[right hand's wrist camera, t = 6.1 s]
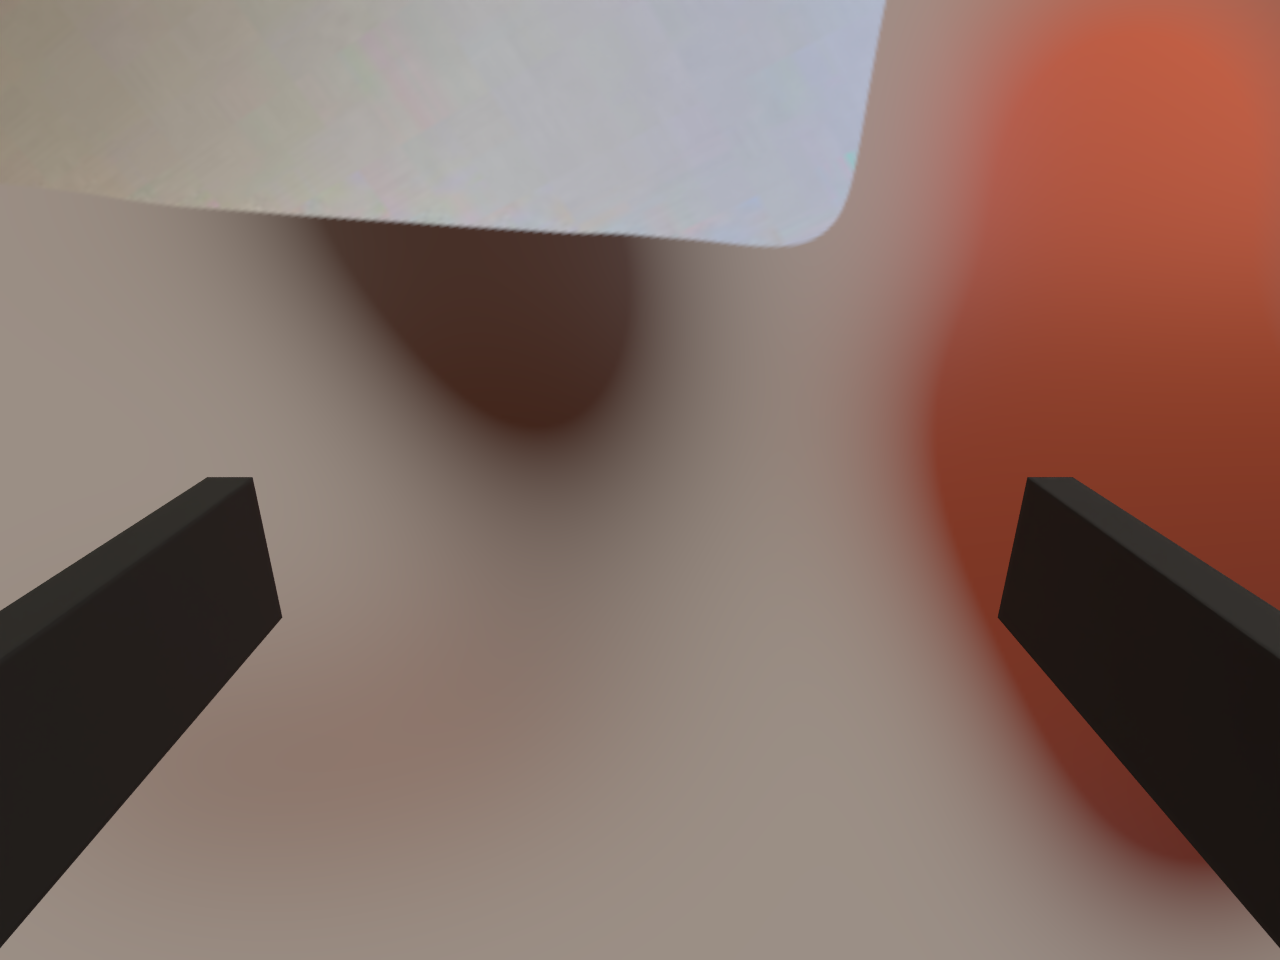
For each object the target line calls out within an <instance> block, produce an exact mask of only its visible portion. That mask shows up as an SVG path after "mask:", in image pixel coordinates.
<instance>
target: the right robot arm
mask: <svg viewBox="0 0 1280 960" xmlns="http://www.w3.org/2000/svg"><path fill="white" fill-rule="evenodd" d="M281 618H282V614H281V609H280V605H279V600H278V595H277V591H276V586H275V581H274V577H273V572H272V567H271V562H270V558H269V553H268V548H267V543H266V539H265V534H264V529H263V524H262V520H261V515H260V510H259V506H258V501H257V496H256V491H255V487H254V482H253V478H252V477H207V478H205V479H204V480H202V481H201V482H199V483H198V484H196V485H195V486H193V487H192V488H190V489H188V490H187V491H185V492H184V493H182V494H181V495H179V496H178V497H176V498H174V499H173V500H171V501H170V502H168V503H167V504H165V505H164V506H162V507H161V508H159V509H157V510H156V511H154V512H153V513H151V514H150V515H148V516H147V517H145V518H143V519H142V520H140V521H139V522H137V523H136V524H134V525H133V526H131V527H130V528H128V529H126V530H125V531H123V532H122V533H120V534H119V535H117V536H116V537H114V538H113V539H111V540H109V541H108V542H106V543H105V544H103V545H102V546H100V547H99V548H97V549H95V550H94V551H92V552H91V553H89V554H88V555H86V556H85V557H83V558H82V559H80V560H78V561H77V562H75V563H74V564H72V565H71V566H69V567H68V568H66V569H64V570H63V571H61V572H60V573H58V574H57V575H55V576H54V577H52V578H50V579H49V580H47V581H46V582H44V583H43V584H41V585H40V586H38V587H37V588H35V589H34V590H32V591H30V592H29V593H27V594H26V595H24V596H23V597H21V598H20V599H18V600H16V601H15V602H13V603H12V604H10V605H9V606H7V607H6V608H4V609H3V610H1V611H0V948H1V946H2V945H3V944H4V943H5V942H6V941H7V939H8V938H9V937H10V936H11V935H12V934H13V932H14V931H15V930H16V929H17V928H18V926H19V925H20V924H21V923H22V922H23V921H24V919H25V918H26V917H27V916H28V915H29V914H30V912H31V911H32V910H33V909H34V908H35V907H36V905H37V904H38V903H39V902H40V901H41V899H42V898H43V897H44V896H45V895H46V894H47V893H48V891H49V890H50V889H51V888H52V887H53V885H54V884H55V883H56V882H57V881H58V880H59V878H60V877H61V876H62V875H63V874H64V873H65V871H66V870H67V869H68V868H69V867H70V865H71V864H72V863H73V862H74V861H75V860H76V859H77V857H78V856H79V855H80V854H81V853H82V851H83V850H84V849H85V848H86V847H87V846H88V844H89V843H90V842H91V841H92V840H93V839H94V837H95V836H96V835H97V834H98V833H99V832H100V830H101V829H102V828H103V827H104V826H105V825H106V823H107V822H108V821H109V820H110V819H111V818H112V816H113V815H114V814H115V813H116V812H117V810H118V809H119V808H120V807H121V806H122V805H123V803H124V802H125V801H126V800H127V799H128V798H129V796H130V795H131V794H132V793H133V792H134V791H135V789H136V788H137V787H138V786H139V785H140V784H141V782H142V781H143V780H144V779H145V778H146V776H147V775H148V774H149V773H150V772H151V771H152V769H153V768H154V767H155V766H156V765H157V763H158V762H159V761H160V760H161V759H162V758H163V757H164V755H165V754H166V753H167V752H168V751H169V750H170V748H171V747H172V746H173V745H174V744H175V742H176V741H177V740H178V739H179V738H180V737H181V735H182V734H183V733H184V732H185V731H186V730H187V728H188V727H189V726H190V725H191V724H192V723H193V721H194V720H195V719H196V718H197V717H198V716H199V714H200V713H201V712H202V711H203V710H204V709H205V707H206V706H207V705H208V704H209V703H210V701H211V700H212V699H213V698H214V697H215V696H216V694H217V693H218V692H219V691H220V690H221V689H222V687H223V686H224V685H225V684H226V683H227V682H228V680H229V679H230V678H231V677H232V676H233V675H234V673H235V672H236V671H237V670H238V669H239V667H240V666H241V665H242V664H243V663H244V662H245V660H246V659H247V658H248V657H249V656H250V655H251V653H252V652H253V651H254V650H255V649H256V648H257V646H258V645H259V644H260V643H261V642H262V640H263V639H264V638H265V637H266V636H267V635H268V634H269V632H270V631H271V630H272V629H273V628H274V626H275V625H276V624H277V623H278V622H279V621H280V619H281ZM998 618H999V619H1000V621H1001V622H1002V623H1003V624H1004V625H1005V626H1006V628H1007V629H1008V630H1009V631H1010V632H1011V633H1012V635H1013V636H1014V637H1015V638H1016V639H1017V641H1018V642H1019V643H1020V644H1021V645H1022V646H1023V648H1024V649H1025V650H1026V651H1027V652H1028V653H1029V655H1030V656H1031V657H1032V658H1033V659H1034V660H1035V662H1036V663H1037V664H1038V665H1039V666H1040V667H1041V669H1042V670H1043V671H1044V672H1045V673H1046V674H1047V676H1048V677H1049V678H1050V679H1051V680H1052V681H1053V683H1054V684H1055V685H1056V686H1057V687H1058V689H1059V690H1060V691H1061V692H1062V693H1063V694H1064V696H1065V697H1066V698H1067V699H1068V700H1069V701H1070V703H1071V704H1072V705H1073V706H1074V707H1075V708H1076V710H1077V711H1078V712H1079V713H1080V714H1081V716H1082V717H1083V718H1084V719H1085V720H1086V721H1087V723H1088V724H1089V725H1090V726H1091V727H1092V728H1093V730H1094V731H1095V732H1096V733H1097V734H1098V735H1099V737H1100V738H1101V739H1102V740H1103V741H1104V742H1105V744H1106V745H1107V746H1108V747H1109V748H1110V750H1111V751H1112V752H1113V753H1114V754H1115V755H1116V757H1117V758H1118V759H1119V760H1120V761H1121V762H1122V764H1123V765H1124V766H1125V767H1126V768H1127V769H1128V771H1129V772H1130V773H1131V774H1132V775H1133V776H1134V778H1135V779H1136V780H1137V781H1138V782H1139V783H1140V785H1141V786H1142V787H1143V788H1144V789H1145V791H1146V792H1147V793H1148V794H1149V795H1150V796H1151V798H1152V799H1153V800H1154V801H1155V802H1156V803H1157V805H1158V806H1159V807H1160V808H1161V809H1162V810H1163V812H1164V813H1165V814H1166V815H1167V816H1168V818H1169V819H1170V820H1171V821H1172V822H1173V823H1174V825H1175V826H1176V827H1177V828H1178V829H1179V830H1180V832H1181V833H1182V834H1183V835H1184V836H1185V837H1186V839H1187V840H1188V841H1189V842H1190V843H1191V844H1192V846H1193V847H1194V848H1195V849H1196V850H1197V851H1198V853H1199V854H1200V855H1201V856H1202V857H1203V859H1204V860H1205V861H1206V862H1207V863H1208V864H1209V866H1210V867H1211V868H1212V869H1213V870H1214V871H1215V873H1216V874H1217V875H1218V876H1219V877H1220V878H1221V880H1222V881H1223V882H1224V883H1225V884H1226V885H1227V887H1228V888H1229V889H1230V890H1231V891H1232V893H1233V894H1234V895H1235V896H1236V897H1237V898H1238V899H1239V901H1240V902H1241V903H1242V904H1243V905H1244V907H1245V908H1246V909H1247V910H1248V911H1249V912H1250V914H1251V915H1252V916H1253V917H1254V918H1255V919H1256V921H1257V922H1258V923H1259V924H1260V925H1261V926H1262V928H1263V929H1264V930H1265V931H1266V932H1267V933H1268V935H1269V936H1270V937H1271V938H1272V939H1273V941H1274V942H1275V943H1276V944H1277V945H1278V946H1279V948H1280V611H1279V610H1277V609H1276V608H1274V607H1273V606H1271V605H1270V604H1268V603H1267V602H1265V601H1264V600H1262V599H1260V598H1259V597H1257V596H1256V595H1254V594H1253V593H1251V592H1250V591H1248V590H1246V589H1245V588H1243V587H1242V586H1240V585H1239V584H1237V583H1236V582H1234V581H1233V580H1231V579H1230V578H1228V577H1226V576H1225V575H1223V574H1222V573H1220V572H1219V571H1217V570H1215V569H1214V568H1212V567H1211V566H1209V565H1208V564H1206V563H1205V562H1203V561H1202V560H1200V559H1198V558H1197V557H1195V556H1194V555H1192V554H1191V553H1189V552H1188V551H1186V550H1185V549H1183V548H1181V547H1180V546H1178V545H1177V544H1175V543H1174V542H1172V541H1171V540H1169V539H1168V538H1166V537H1164V536H1163V535H1161V534H1160V533H1158V532H1157V531H1155V530H1153V529H1152V528H1150V527H1149V526H1147V525H1146V524H1144V523H1143V522H1141V521H1140V520H1138V519H1137V518H1135V517H1133V516H1132V515H1130V514H1129V513H1127V512H1126V511H1124V510H1123V509H1121V508H1119V507H1118V506H1116V505H1115V504H1113V503H1112V502H1110V501H1109V500H1107V499H1105V498H1104V497H1102V496H1101V495H1099V494H1098V493H1096V492H1095V491H1093V490H1092V489H1090V488H1088V487H1087V486H1085V485H1084V484H1082V483H1081V482H1079V481H1078V480H1076V479H1075V478H1073V477H1028V478H1027V482H1026V487H1025V492H1024V496H1023V501H1022V506H1021V511H1020V515H1019V520H1018V525H1017V529H1016V534H1015V539H1014V543H1013V548H1012V553H1011V558H1010V562H1009V567H1008V572H1007V576H1006V581H1005V586H1004V591H1003V595H1002V600H1001V605H1000V609H999V614H998Z"/></svg>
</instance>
